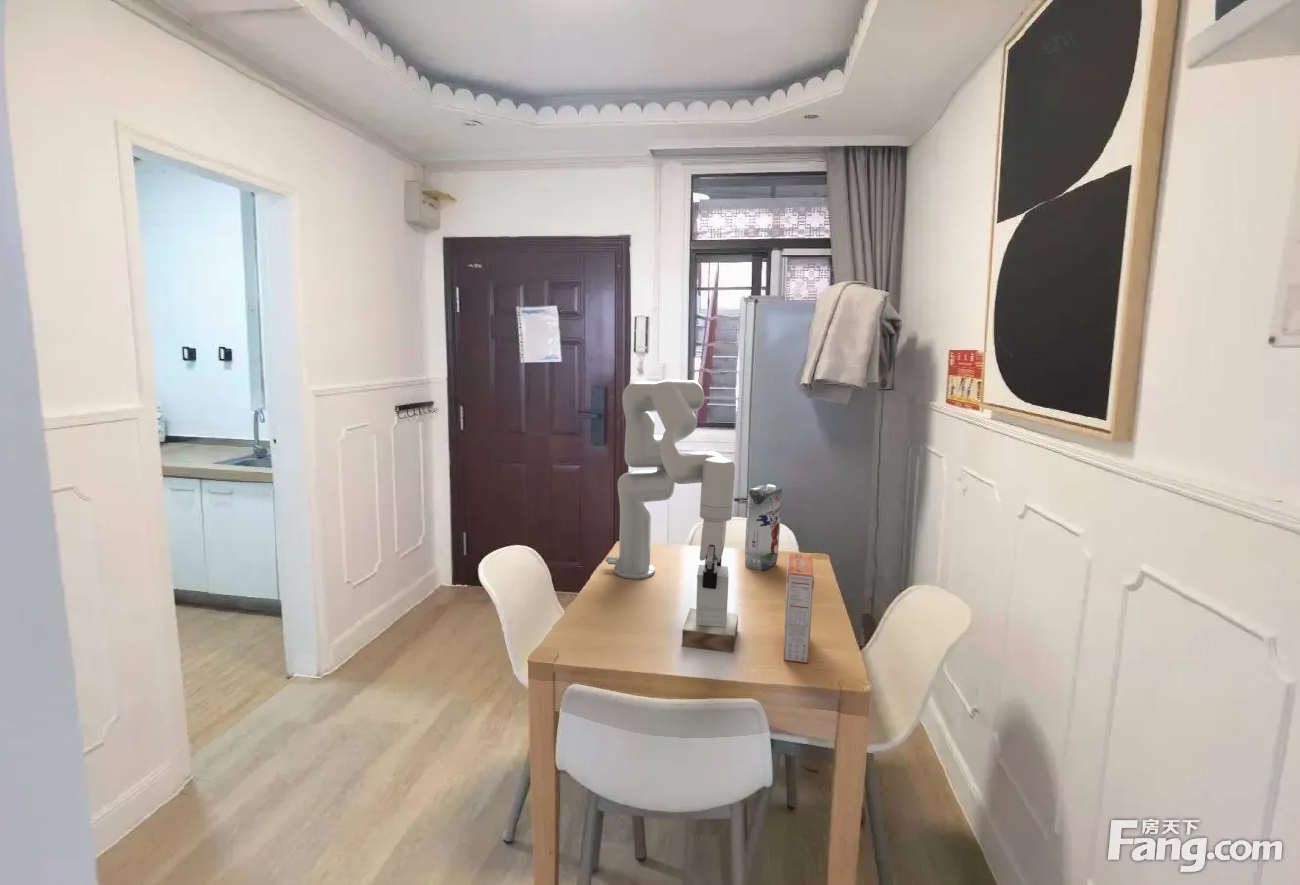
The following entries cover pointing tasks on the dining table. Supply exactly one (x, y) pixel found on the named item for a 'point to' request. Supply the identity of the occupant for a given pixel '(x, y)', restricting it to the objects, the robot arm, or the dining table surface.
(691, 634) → the base block
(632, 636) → the dining table surface
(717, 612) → the supplement box
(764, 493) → the juice carton
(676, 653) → the dining table surface
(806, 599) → the cracker box
